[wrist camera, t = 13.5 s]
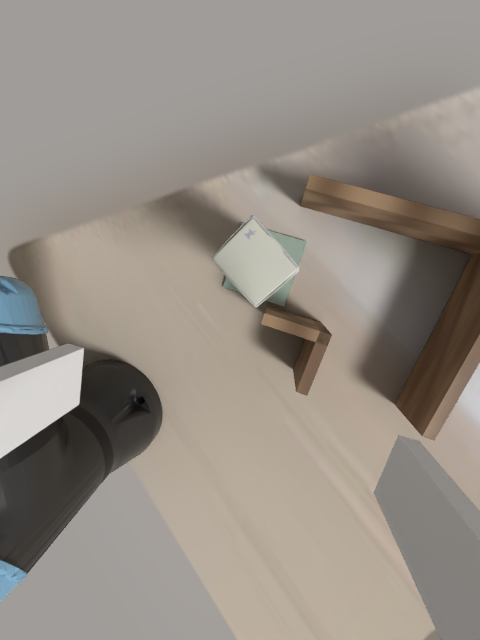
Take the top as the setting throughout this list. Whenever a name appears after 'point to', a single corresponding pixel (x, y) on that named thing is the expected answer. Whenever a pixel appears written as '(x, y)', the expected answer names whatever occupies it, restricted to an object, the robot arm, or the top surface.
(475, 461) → the top surface
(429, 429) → the wooden u-shaped enclosure
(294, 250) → the pad
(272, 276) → the box
